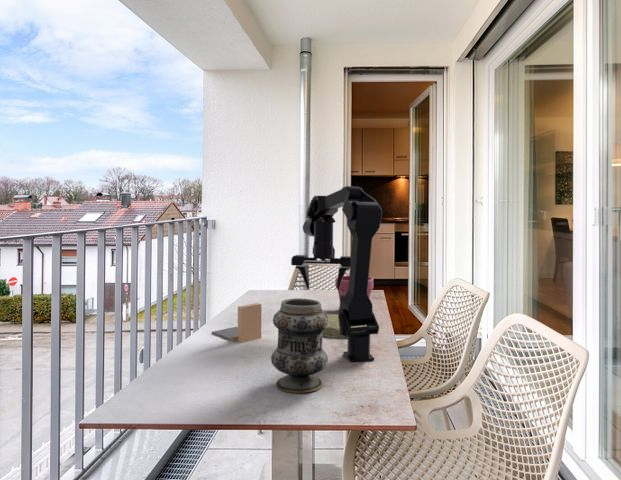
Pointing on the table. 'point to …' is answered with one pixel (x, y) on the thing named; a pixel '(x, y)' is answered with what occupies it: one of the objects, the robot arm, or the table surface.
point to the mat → (226, 332)
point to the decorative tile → (334, 327)
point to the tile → (249, 322)
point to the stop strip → (234, 338)
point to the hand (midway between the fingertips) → (323, 289)
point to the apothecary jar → (299, 344)
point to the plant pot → (345, 285)
